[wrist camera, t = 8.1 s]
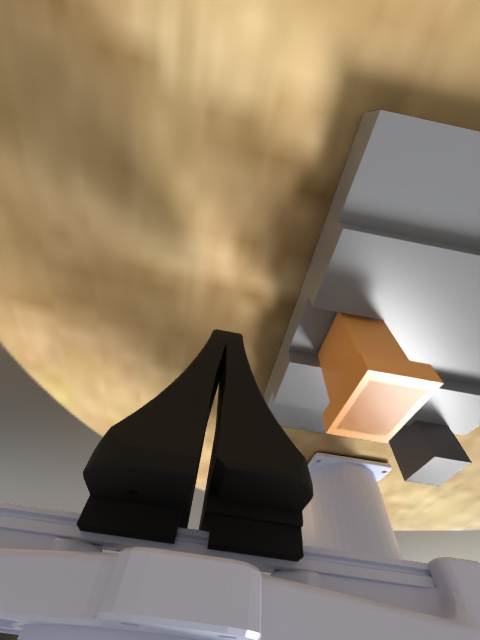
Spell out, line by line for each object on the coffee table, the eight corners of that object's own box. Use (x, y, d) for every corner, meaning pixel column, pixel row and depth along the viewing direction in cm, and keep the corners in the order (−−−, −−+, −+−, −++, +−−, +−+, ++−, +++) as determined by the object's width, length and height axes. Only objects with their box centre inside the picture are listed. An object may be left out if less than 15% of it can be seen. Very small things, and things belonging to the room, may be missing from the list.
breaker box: (414, 428, 23) (450, 497, 19) (261, 402, 23) (260, 467, 18) (665, 179, 12) (915, 208, 7) (363, 112, 11) (430, 99, 7)
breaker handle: (356, 367, 17) (386, 443, 13) (310, 359, 16) (325, 433, 12) (391, 310, 14) (443, 382, 10) (337, 300, 14) (368, 369, 10)
